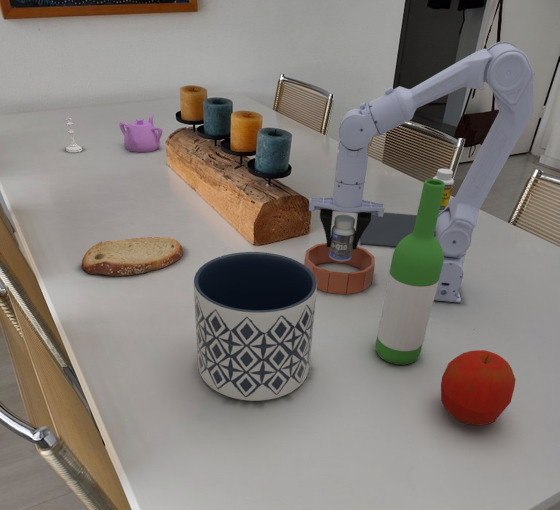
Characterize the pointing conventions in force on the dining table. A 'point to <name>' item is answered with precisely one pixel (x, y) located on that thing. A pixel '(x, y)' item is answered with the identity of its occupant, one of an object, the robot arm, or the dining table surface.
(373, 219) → the mat
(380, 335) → the wine bottle
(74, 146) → the chess piece
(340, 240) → the pill bottle
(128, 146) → the teapot
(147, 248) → the slice of bread
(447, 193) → the supplement bottle
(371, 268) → the bracelet
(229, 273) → the planter
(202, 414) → the dining table surface
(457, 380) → the apple
